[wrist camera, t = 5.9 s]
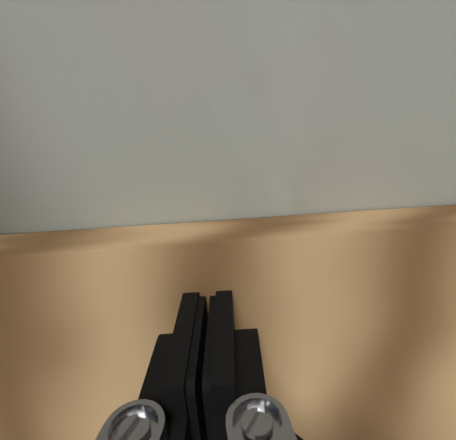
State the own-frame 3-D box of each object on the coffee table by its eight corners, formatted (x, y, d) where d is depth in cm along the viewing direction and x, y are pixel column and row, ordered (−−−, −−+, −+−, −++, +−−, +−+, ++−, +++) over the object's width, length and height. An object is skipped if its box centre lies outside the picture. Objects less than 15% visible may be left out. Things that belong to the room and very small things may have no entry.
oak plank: (499, 201, 11) (553, 220, 9) (457, 394, 14) (492, 438, 12) (-48, 237, 12) (-100, 262, 10) (21, 416, 15) (-10, 460, 13)
